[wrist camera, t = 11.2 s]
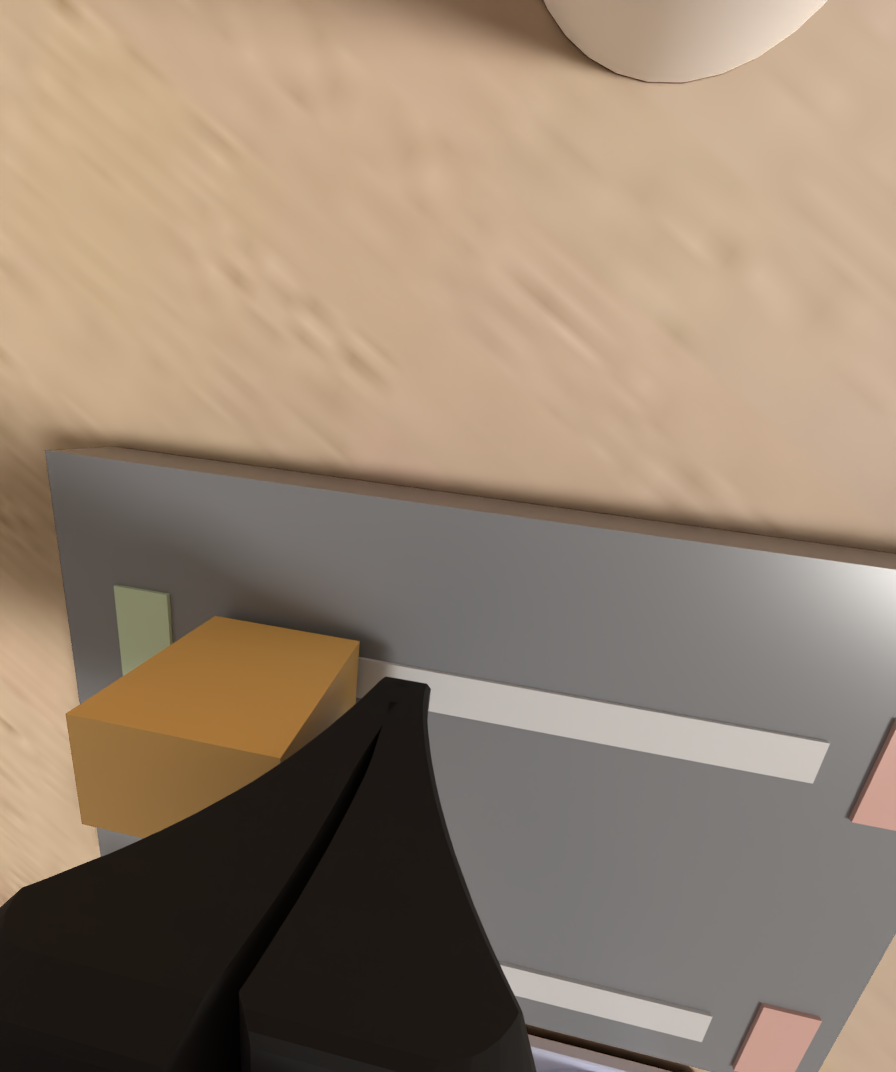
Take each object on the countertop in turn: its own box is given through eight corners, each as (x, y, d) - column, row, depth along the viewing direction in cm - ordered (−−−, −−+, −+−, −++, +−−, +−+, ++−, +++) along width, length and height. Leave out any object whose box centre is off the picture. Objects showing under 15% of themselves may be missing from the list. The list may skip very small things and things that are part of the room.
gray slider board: (767, 1011, 15) (806, 1100, 13) (152, 863, 18) (106, 920, 15) (980, 565, 11) (1090, 598, 9) (113, 446, 13) (40, 450, 11)
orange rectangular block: (354, 722, 12) (279, 870, 8) (218, 695, 12) (82, 823, 8) (359, 641, 11) (280, 758, 7) (215, 615, 11) (65, 713, 7)
